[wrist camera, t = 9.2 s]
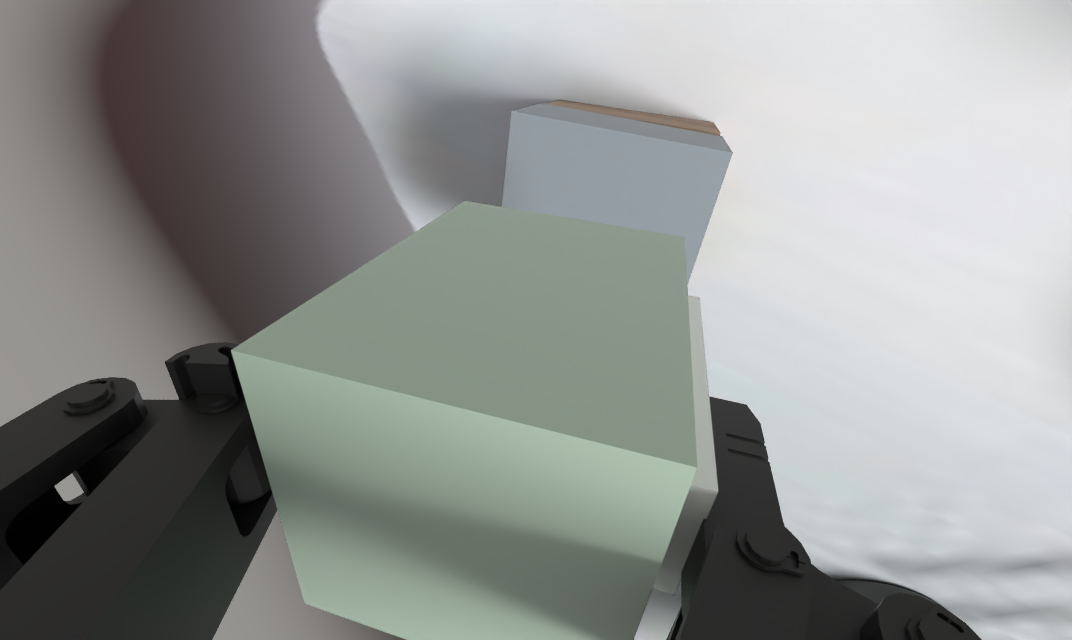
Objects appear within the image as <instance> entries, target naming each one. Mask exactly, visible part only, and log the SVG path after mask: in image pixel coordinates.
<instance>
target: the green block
mask: <svg viewBox="0 0 1072 640" xmlns="http://www.w3.org/2000/svg"><path fill="white" fill-rule="evenodd" d="M231 352H232V356H233V359H234V363H235V366H236V370H237V373H238V376H239V380H240V383H241V387H242V390H243V393H244V397H245V400H246V404H247V407H248V411H249V414H250V417H251V421H252V424H253V428H254V431H255V435H256V438H257V441H258V445H259V448H260V452H261V455H262V459H263V462H264V465H265V469H266V472H267V476H268V479H269V483H270V486H271V489H272V493H273V496H274V500H275V503H276V507H277V510H278V513H279V517H280V520H281V523H282V527H283V531H284V534H285V537H286V541H287V544H288V548H289V551H290V554H291V558H292V561H293V565H294V568H295V572H296V575H297V578H298V582H299V585H300V589H301V592H302V596H303V599H304V602H305V604H308V605H311V606H313V607H316V608H319V609H322V610H325V611H328V612H331V613H333V614H336V615H339V616H342V617H344V618H347V619H350V620H353V621H356V622H358V623H361V624H364V625H367V626H370V627H373V628H375V629H378V630H381V631H384V632H387V633H389V634H393V635H395V636H398V637H401V638H403V639H406V640H634V637H635V634H636V632H637V629H638V626H639V624H640V621H641V618H642V616H643V613H644V610H645V607H646V605H647V602H648V599H649V597H650V594H651V591H652V589H653V586H654V583H655V580H656V578H657V575H658V572H659V570H660V567H661V564H662V562H663V559H664V556H665V554H666V551H667V548H668V545H669V543H670V540H671V537H672V535H673V532H674V529H675V527H676V524H677V521H678V518H679V516H680V513H681V510H682V508H683V505H684V502H685V500H686V497H687V494H688V492H689V489H690V486H691V483H692V481H693V478H694V475H695V473H696V470H697V452H696V434H695V416H694V398H693V379H692V361H691V343H690V325H689V306H688V288H687V270H686V252H685V237H682V236H675V235H669V234H663V233H657V232H651V231H645V230H639V229H633V228H627V227H621V226H615V225H609V224H603V223H597V222H591V221H585V220H579V219H573V218H567V217H561V216H555V215H548V214H542V213H536V212H530V211H524V210H518V209H512V208H506V207H500V206H494V205H488V204H482V203H476V202H470V201H463V202H462V203H460V204H459V205H457V206H456V207H454V208H452V209H451V210H449V211H448V212H446V213H445V214H443V215H441V216H440V217H438V218H437V219H435V220H434V221H432V222H431V223H429V224H427V225H426V226H424V227H423V228H421V229H420V230H418V231H416V232H415V233H413V234H412V235H410V236H409V237H407V238H406V239H404V240H402V241H401V242H399V243H398V244H396V245H395V246H393V247H392V248H390V249H388V250H387V251H385V252H384V253H382V254H381V255H379V256H377V257H376V258H374V259H373V260H371V261H370V262H368V263H366V264H365V265H363V266H362V267H360V268H359V269H357V270H356V271H354V272H352V273H351V274H349V275H348V276H346V277H345V278H343V279H341V280H340V281H338V282H337V283H335V284H334V285H332V286H331V287H329V288H328V289H326V290H325V291H323V292H321V293H320V294H318V295H316V296H315V297H314V298H312V299H310V300H309V301H307V302H306V303H304V304H302V305H301V306H299V307H298V308H296V309H295V310H293V311H291V312H290V313H288V314H287V315H285V316H284V317H282V318H281V319H279V320H278V321H276V322H274V323H273V324H271V325H270V326H268V327H267V328H265V329H264V330H262V331H260V332H259V333H257V334H256V335H254V336H252V337H251V338H249V339H248V340H246V341H245V342H243V343H241V344H240V345H238V346H237V347H235V348H234V349H232V350H231Z"/></svg>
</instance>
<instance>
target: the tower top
mask: <svg viewBox="0 0 1072 640" xmlns="http://www.w3.org/2000/svg"><path fill="white" fill-rule="evenodd" d="M732 153H733V152H732V151H731V149H730V148H729V146H728V145H727V143H726V142H725V140H724V138H723V137H722V136H718V135H713V134H708V133H702V132H697V131H691V130H686V129H680V128H675V127H669V126H664V125H659V124H653V123H648V122H642V121H637V120H631V119H626V118H621V117H615V116H610V115H604V114H599V113H593V112H588V111H582V110H577V109H572V108H566V107H561V106H555V105H550V104H544V103H539V104H535V105H532V106H528V107H524V108H520V109H517V110H513V111H511V119H510V129H509V139H508V148H507V158H506V168H505V177H504V187H503V197H502V206H501V207H506V208H512V209H518V210H524V211H530V212H536V213H542V214H548V215H555V216H561V217H567V218H573V219H579V220H585V221H591V222H597V223H603V224H609V225H615V226H621V227H627V228H633V229H639V230H645V231H651V232H657V233H663V234H669V235H675V236H682V237H685V252H686V270H687V284H688V281H689V279H690V276H691V273H692V270H693V267H694V264H695V261H696V258H697V255H698V252H699V249H700V246H701V244H702V241H703V238H704V235H705V232H706V229H707V226H708V223H709V220H710V217H711V214H712V211H713V209H714V206H715V203H716V200H717V197H718V194H719V191H720V188H721V185H722V182H723V179H724V176H725V174H726V171H727V168H728V165H729V162H730V159H731V156H732Z"/></svg>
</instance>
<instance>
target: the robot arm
mask: <svg viewBox="0 0 1072 640" xmlns="http://www.w3.org/2000/svg"><path fill="white" fill-rule="evenodd" d="M688 306H689V325H690V343H691V361H692V379H693V398H694V416H695V434H696V452H697V470H696V473H695V475H694V478H693V481H692V483H691V486H690V489H689V492H688V494H687V497H686V500H685V502H684V505H683V508H682V510H681V513H680V516H679V518H678V521H677V524H676V527H675V529H674V532H673V535H672V537H671V540H670V543H669V545H668V548H667V551H666V554H665V556H664V559H663V562H662V564H661V567H660V570H659V572H658V575H657V578H656V580H655V583H654V586H653V589H655V590H659V591H662V592H665V593H669V594H672V595H675V593H676V591H677V588H678V586H679V583H680V581H681V589H682V606H681V608H680V611H679V613H678V615H677V617H676V620H675V622H674V624H673V626H672V628H671V631H670V633H669V635H668V637H667V640H981V639H980V638H979V637H978V635H977V634H976V633H975V632H974V631H973V630H972V629H971V628H970V627H969V626H968V625H967V624H966V623H965V622H963V621H962V620H960V619H959V618H958V617H956V616H955V615H953V614H952V613H951V612H949V611H948V610H946V609H945V608H944V607H942V606H941V605H939V604H937V603H936V602H934V601H932V600H931V599H929V598H927V597H925V596H922V595H920V594H918V593H915V592H913V591H910V590H907V589H903V588H900V587H896V586H892V585H888V584H883V583H877V582H869V581H853V580H849V581H835V580H833V579H832V578H830V577H829V576H827V575H826V574H824V573H822V572H821V571H819V570H818V569H817V568H816V567H815V566H814V565H812V564H811V561H810V558H809V556H808V555H807V553H806V551H805V549H804V547H803V546H802V544H801V543H800V542H799V541H798V539H797V538H796V537H795V536H794V535H793V534H792V533H791V532H790V531H789V530H788V529H787V528H785V526H784V523H783V519H782V515H781V511H780V506H779V502H778V498H777V493H776V489H775V485H774V480H773V476H772V472H771V467H770V463H769V462H768V454H767V450H766V446H764V443H765V441H764V437H763V433H762V429H761V424H760V422H759V421H758V420H757V418H756V417H755V416H754V414H753V413H752V412H751V410H750V409H749V408H748V406H747V405H745V404H741V403H736V402H732V401H727V400H723V399H718V398H714V397H709V390H708V380H707V369H706V359H705V349H704V339H703V328H702V318H701V308H700V298H699V297H693V296H688ZM237 346H238V344H232V343H209V344H205V345H200V346H196V347H192V348H190V349H187V350H185V351H182V352H180V353H177V354H176V355H174V356H173V357H171V358H170V359H168V360H167V361H165V364H166V367H167V369H168V372H169V374H170V377H171V379H172V381H173V384H174V387H175V389H176V392H177V394H178V397H179V400H142V397H141V395H140V393H139V391H138V388H137V386H136V384H135V382H133V381H131V380H128V379H126V378H114V377H111V378H101V379H96V380H90V381H88V382H85V383H81V384H78V385H75V386H73V387H71V388H69V389H67V390H64V391H62V392H60V393H58V394H56V395H55V396H53V397H51V398H49V399H48V400H46V401H44V402H43V403H41V404H39V405H37V406H36V407H34V408H32V409H30V410H29V411H27V412H25V413H23V414H22V415H20V416H18V417H17V418H15V419H13V420H11V421H10V422H8V423H6V424H4V425H3V426H1V427H0V640H212V639H213V637H214V635H215V633H216V631H217V628H218V627H219V625H220V622H221V621H222V619H223V617H224V615H225V613H226V611H227V609H228V607H229V605H230V603H231V601H232V599H233V597H234V595H235V593H236V591H237V589H238V587H239V585H240V583H241V581H242V579H243V577H244V575H245V573H246V571H247V569H248V567H249V565H250V563H251V561H252V559H253V557H254V555H255V553H256V551H257V549H258V547H259V545H260V543H261V541H262V539H263V537H264V535H265V533H266V531H267V529H268V527H269V525H270V523H271V521H272V519H273V517H274V515H275V513H276V511H277V507H276V503H275V500H274V496H273V493H272V489H271V486H270V483H269V479H268V476H267V472H266V469H265V465H264V462H263V459H262V455H261V452H260V448H259V445H258V441H257V438H256V435H255V431H254V428H253V424H252V421H251V417H250V414H249V411H248V407H247V404H246V400H245V397H244V393H243V390H242V387H241V383H240V380H239V376H238V373H237V370H236V366H235V363H234V359H233V356H232V352H231V350H232V349H234V348H235V347H237ZM71 473H73V475H74V477H75V478H76V480H77V481H78V483H79V485H80V486H81V488H82V490H83V491H84V493H83V494H81V495H80V496H78V497H76V498H75V499H73V500H71V501H63V499H62V498H61V496H60V495H59V493H58V492H57V490H56V489H55V487H54V486H55V485H56V484H58V483H59V482H60V481H62V480H63V479H64V478H66V477H67V476H69V475H70V474H71Z"/></svg>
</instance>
